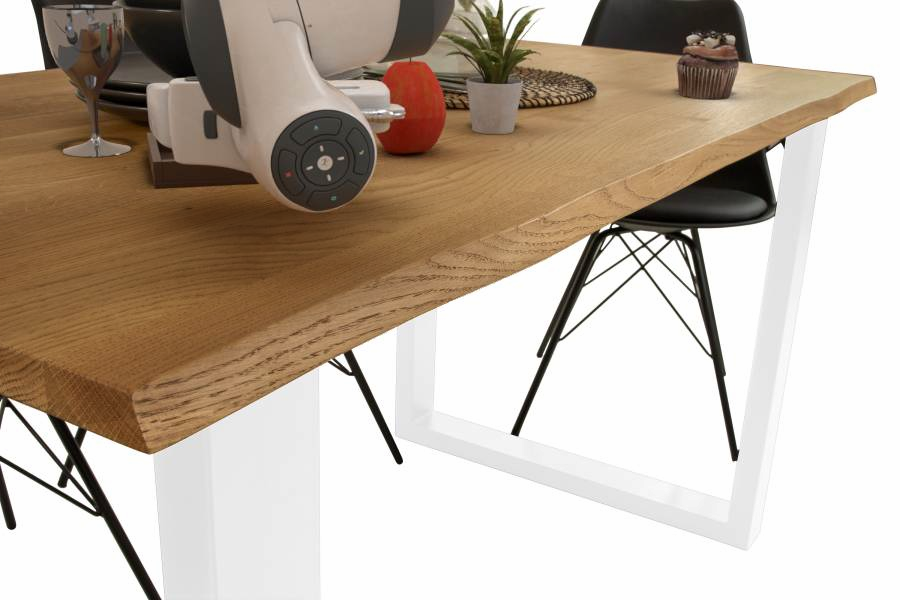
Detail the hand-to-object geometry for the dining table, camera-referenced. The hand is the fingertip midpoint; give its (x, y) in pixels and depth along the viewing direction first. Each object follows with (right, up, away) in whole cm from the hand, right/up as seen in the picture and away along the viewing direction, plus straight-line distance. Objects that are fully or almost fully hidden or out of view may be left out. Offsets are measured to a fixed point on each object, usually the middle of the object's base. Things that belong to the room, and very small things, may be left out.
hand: (259, 93), depth 91 cm
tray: (-3, -5, +12) cm, 14 cm away
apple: (+13, -3, +21) cm, 25 cm away
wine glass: (-21, -3, +18) cm, 28 cm away
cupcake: (+58, +13, +68) cm, 90 cm away
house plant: (+23, +3, +36) cm, 43 cm away
